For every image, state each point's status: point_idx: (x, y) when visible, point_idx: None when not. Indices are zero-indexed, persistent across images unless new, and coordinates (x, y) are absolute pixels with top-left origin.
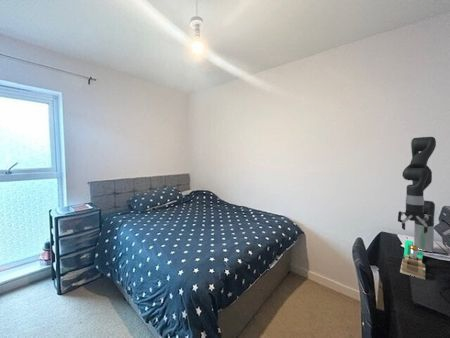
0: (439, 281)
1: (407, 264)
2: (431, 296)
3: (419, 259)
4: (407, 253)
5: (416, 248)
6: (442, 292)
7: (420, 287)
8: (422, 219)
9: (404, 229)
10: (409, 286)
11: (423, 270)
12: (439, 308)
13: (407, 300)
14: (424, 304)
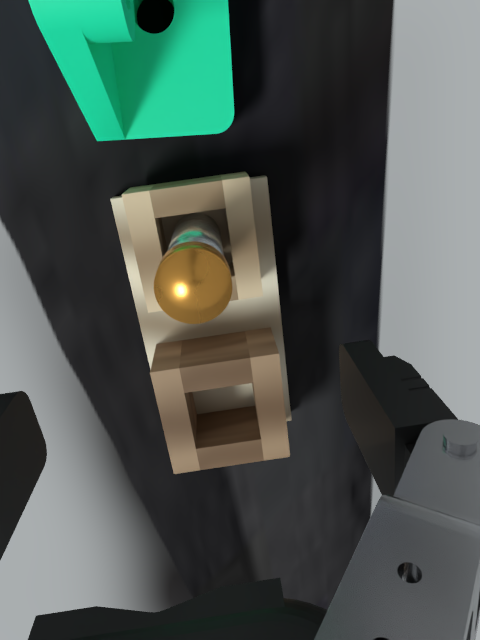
0: None
1: (201, 455)
2: (324, 548)
3: (237, 234)
4: (119, 121)
5: (223, 305)
6: (361, 482)
7: (281, 510)
8: (458, 625)
9: (38, 464)
10: (241, 537)
11: (271, 319)
12: None
13: None
14: None
